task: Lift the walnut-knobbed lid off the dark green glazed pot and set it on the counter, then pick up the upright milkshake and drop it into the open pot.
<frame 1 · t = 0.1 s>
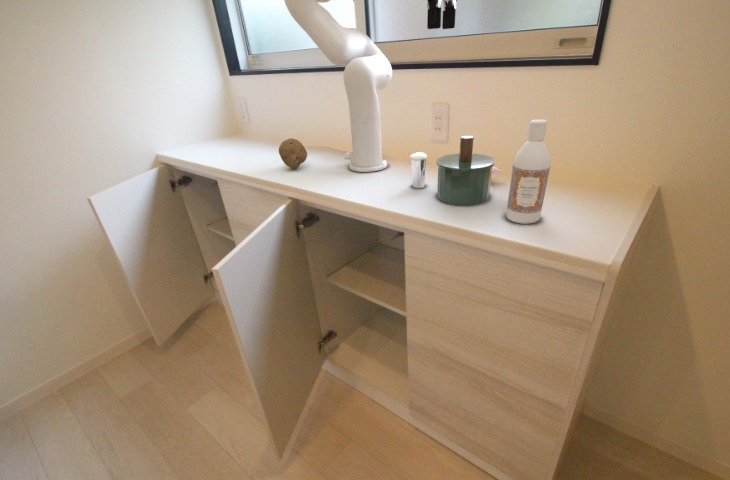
hand: (441, 28, 90), 37 cm above the table, tool pointing down, fingers open, 9 cm apart
pot: (462, 196, 92), on the table
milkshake: (417, 186, 101), on the table
pot lid: (465, 162, 88), point 8 cm above the table, touching pot
bath foam: (522, 218, 79), on the table
brown potato: (296, 169, 124), on the table
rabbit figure: (473, 178, 104), on the table
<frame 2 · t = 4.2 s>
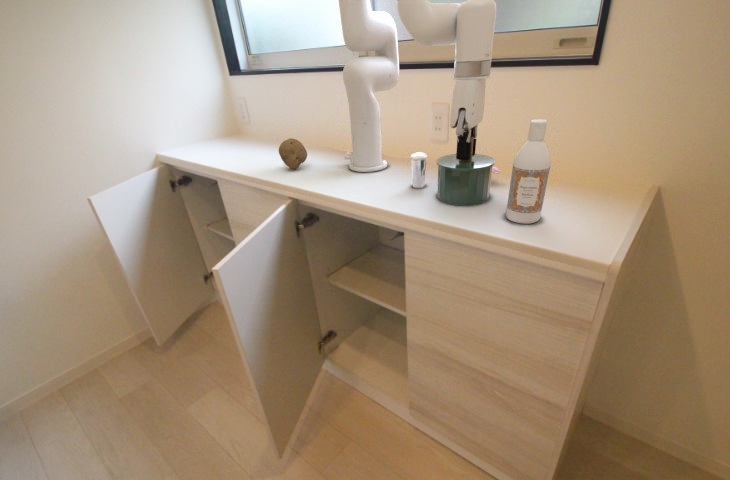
hand: (465, 156, 87), 10 cm above the table, tool pointing down, fingers closed on pot lid, 3 cm apart
pot lid: (465, 162, 88), point 9 cm above the table, touching gripper, pot
everything else where it was.
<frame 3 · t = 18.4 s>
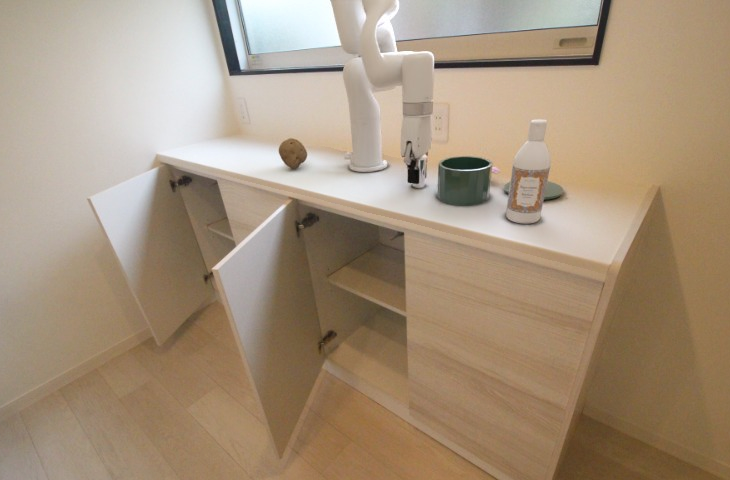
hand: (417, 179, 100), 2 cm above the table, tool pointing down, fingers closed on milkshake, 4 cm apart
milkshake: (417, 186, 101), on the table, touching gripper
pot lid: (532, 190, 91), point 1 cm above the table
everything else where it was.
when the fingers open (8 cm above the table, at t = 24.2 s): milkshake drops 4 cm, resting on pot.
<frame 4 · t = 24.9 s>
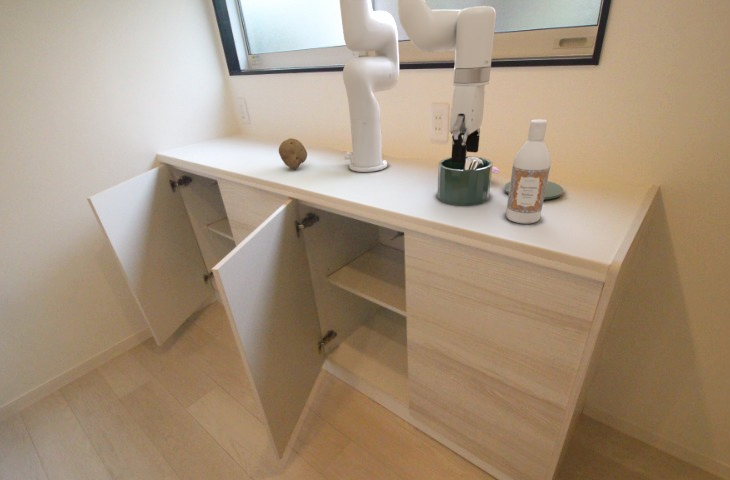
hand: (465, 156, 87), 10 cm above the table, tool pointing down, fingers open, 9 cm apart
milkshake: (460, 192, 90), point 2 cm above the table, touching pot
everything else where it was.
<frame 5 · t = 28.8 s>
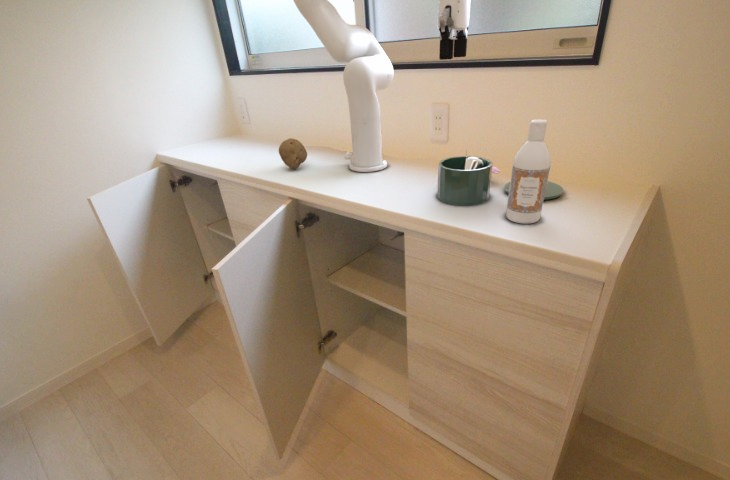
hand: (453, 58, 90), 30 cm above the table, tool pointing down, fingers open, 9 cm apart
nothing on the table moved.
at the end: pot lid inside the target area (0.1 cm from its centre), point 0.6 cm above the table; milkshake inside the target area in the pot (2.0 cm from its centre), point 1.6 cm above the pot's base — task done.
